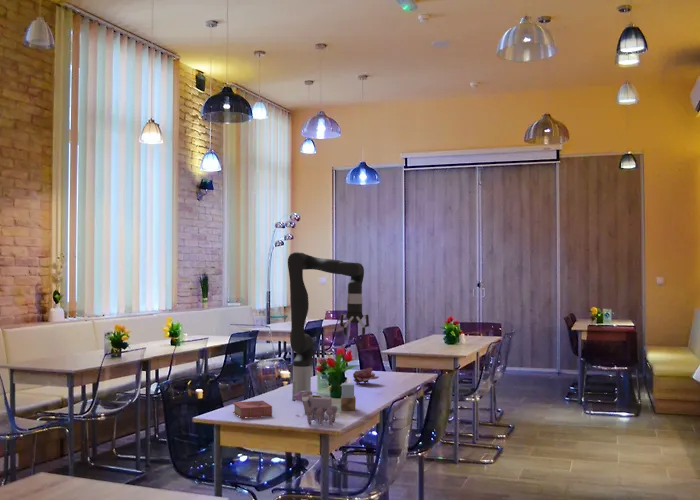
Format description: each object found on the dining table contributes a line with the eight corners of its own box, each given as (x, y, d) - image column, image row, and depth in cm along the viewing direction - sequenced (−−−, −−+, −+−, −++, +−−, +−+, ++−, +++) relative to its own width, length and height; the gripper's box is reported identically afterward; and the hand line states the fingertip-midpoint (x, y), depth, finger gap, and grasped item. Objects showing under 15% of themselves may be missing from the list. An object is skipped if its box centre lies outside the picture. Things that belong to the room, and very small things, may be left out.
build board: (330, 414, 329) (330, 411, 329) (328, 406, 347) (329, 404, 347) (356, 413, 330) (356, 411, 330) (353, 406, 348) (353, 404, 348)
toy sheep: (287, 423, 309) (288, 391, 310) (296, 419, 319) (297, 388, 320) (331, 426, 303) (332, 394, 305) (338, 422, 314) (339, 391, 315)
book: (241, 419, 317) (241, 408, 317) (232, 413, 331) (233, 402, 331) (272, 417, 322) (272, 406, 323) (262, 411, 336) (262, 400, 337)
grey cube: (342, 398, 332) (342, 385, 332) (341, 395, 337) (341, 383, 337) (354, 398, 332) (354, 385, 332) (353, 395, 338) (353, 383, 338)
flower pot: (314, 419, 318) (314, 399, 318) (297, 416, 323) (297, 397, 323) (326, 415, 326) (326, 396, 326) (309, 413, 331) (309, 394, 331)
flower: (384, 379, 416) (378, 362, 417) (371, 385, 404) (366, 368, 405) (363, 383, 424) (358, 367, 425) (350, 390, 412) (345, 374, 413)
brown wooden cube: (341, 411, 331) (341, 398, 331) (340, 408, 338) (340, 395, 338) (355, 411, 331) (355, 398, 332) (354, 408, 338) (354, 395, 338)
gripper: (340, 302, 352) (340, 335, 351) (369, 303, 353) (369, 336, 352) (340, 302, 359) (339, 334, 359) (368, 302, 360) (367, 334, 360)
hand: (354, 335), depth 355 cm, fingers open, 8 cm apart
